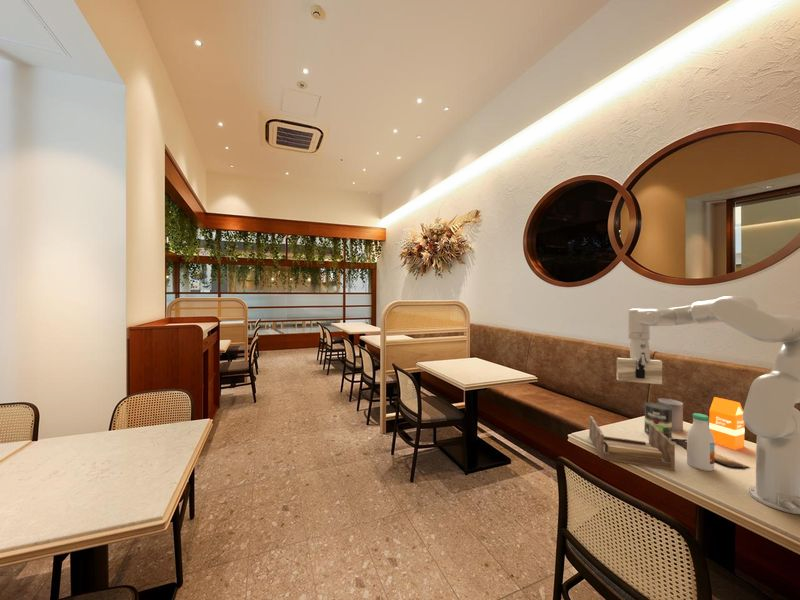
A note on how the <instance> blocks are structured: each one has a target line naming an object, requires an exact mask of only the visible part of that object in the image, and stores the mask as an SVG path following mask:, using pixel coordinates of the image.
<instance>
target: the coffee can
mask: <svg viewBox="0 0 800 600" xmlns="http://www.w3.org/2000/svg"><path fill="white" fill-rule="evenodd" d="M672 410H673V409H672V407H670V406H667V405H664V404H660V403H658V402H645V403H644V430H643V431H644V433H645V435H647V436H649V423H652V424H653V425H654V426H655V427H656V428H658V429H659V430H660V431H661V432H662V433H663V434H664V435H665V436H666V437H667V438H668V439H669V440H671V439H673V436H672V435H673V434H672V433H673V431H672Z"/></svg>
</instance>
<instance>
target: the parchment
mask: <svg viewBox="0 0 800 600" xmlns="http://www.w3.org/2000/svg"><path fill="white" fill-rule="evenodd" d="M670 441H671V442H674V444H676V445H679V446H680V447H683V449H685V450H687V438H686V439H681V438H671V439H670ZM715 461H716V462H718V463H720V464H723V465H725V466H727V467H728V468H732V467H735V468H736V467H738V468H739V467H740V468H742V469H744V470H746V468H749V466H748V465H746V464H744V463H741V462H739V461H736V460H735V459H733V458H731V457H727V456H725V455H723V454H721V453H718V452H716V451H715V455H714V462H715Z"/></svg>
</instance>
